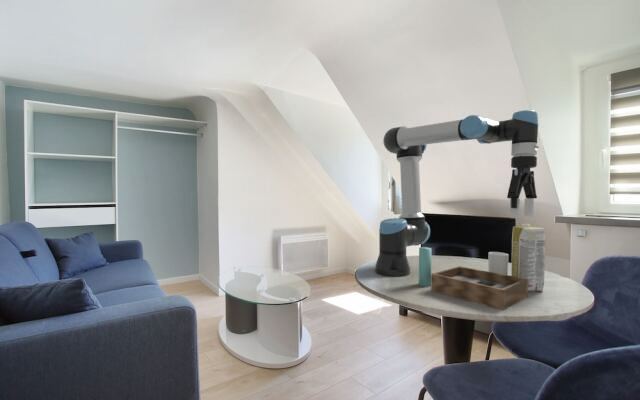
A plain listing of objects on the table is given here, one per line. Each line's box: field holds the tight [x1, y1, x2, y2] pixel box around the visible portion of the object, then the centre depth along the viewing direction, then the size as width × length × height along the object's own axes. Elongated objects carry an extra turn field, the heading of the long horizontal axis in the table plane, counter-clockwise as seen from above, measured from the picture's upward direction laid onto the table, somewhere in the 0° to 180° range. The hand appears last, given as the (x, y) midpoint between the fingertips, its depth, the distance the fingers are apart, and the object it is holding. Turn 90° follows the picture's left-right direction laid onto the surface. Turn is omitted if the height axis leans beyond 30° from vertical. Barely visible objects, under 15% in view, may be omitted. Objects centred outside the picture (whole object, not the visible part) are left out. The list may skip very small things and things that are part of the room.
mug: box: [487, 251, 509, 275], centre depth 123 cm, size 10×7×12 cm, turn 170°
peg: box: [418, 246, 432, 288], centre depth 120 cm, size 4×4×14 cm
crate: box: [430, 265, 529, 311], centre depth 110 cm, size 24×20×6 cm
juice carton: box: [510, 223, 546, 292], centre depth 116 cm, size 9×8×24 cm
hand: (521, 217), depth 111 cm, fingers open, 13 cm apart
